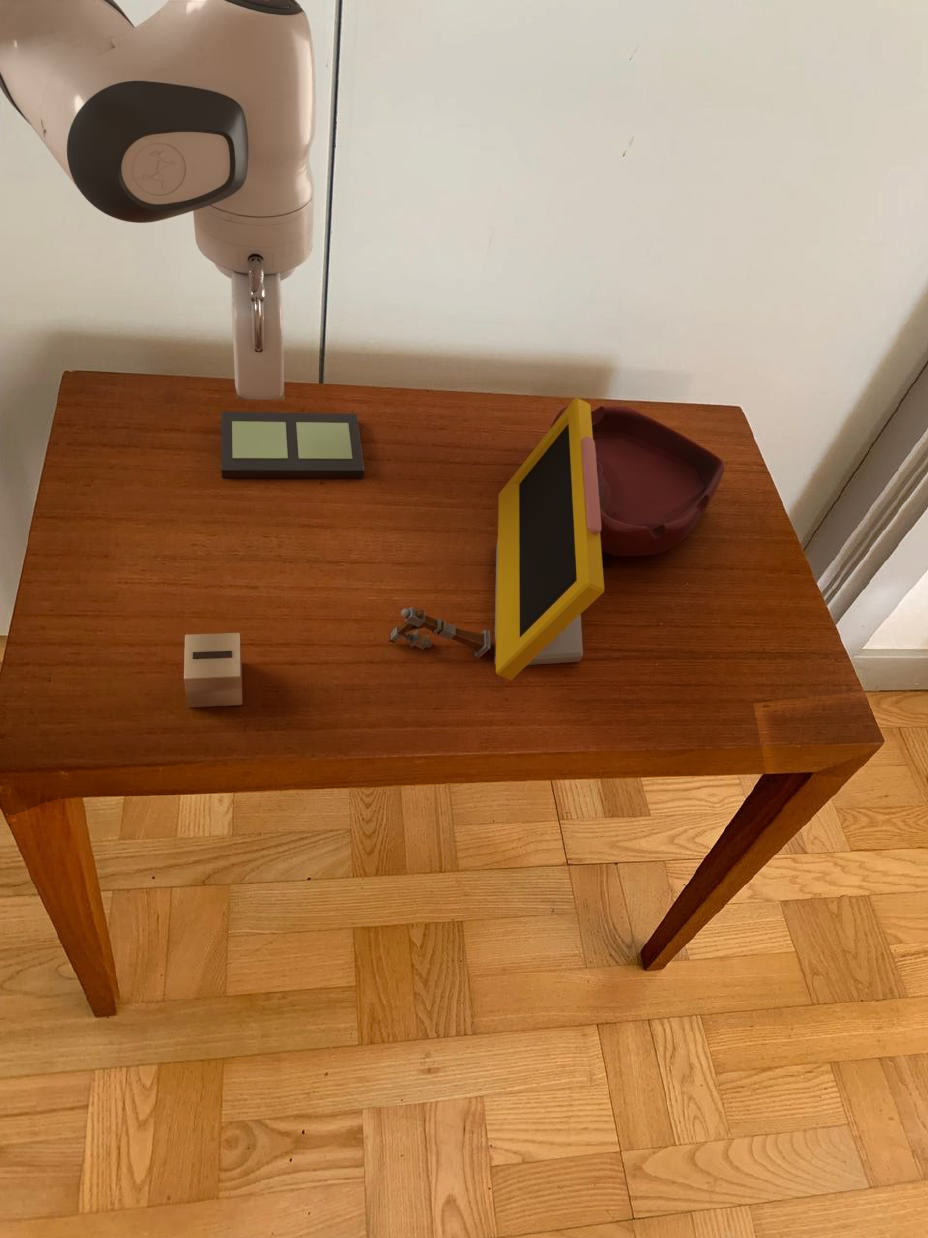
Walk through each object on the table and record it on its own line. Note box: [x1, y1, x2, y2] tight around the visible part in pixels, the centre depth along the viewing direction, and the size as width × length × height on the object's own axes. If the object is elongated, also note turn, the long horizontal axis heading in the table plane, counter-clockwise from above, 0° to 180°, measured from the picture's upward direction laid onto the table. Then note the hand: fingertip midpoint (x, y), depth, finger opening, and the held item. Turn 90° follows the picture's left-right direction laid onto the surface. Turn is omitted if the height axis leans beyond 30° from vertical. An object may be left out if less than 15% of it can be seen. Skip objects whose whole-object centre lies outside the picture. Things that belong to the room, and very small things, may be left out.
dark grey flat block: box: [220, 411, 365, 479], centre depth 88 cm, size 13×8×1 cm, turn 99°
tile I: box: [183, 632, 243, 708], centre depth 70 cm, size 4×4×4 cm
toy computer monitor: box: [493, 397, 605, 681], centre depth 75 cm, size 20×8×16 cm, turn 178°
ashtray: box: [549, 405, 725, 557], centre depth 90 cm, size 18×16×5 cm
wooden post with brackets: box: [388, 606, 491, 659], centre depth 76 cm, size 2×8×4 cm, turn 91°
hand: (258, 370), depth 81 cm, fingers closed on tile H, 4 cm apart
